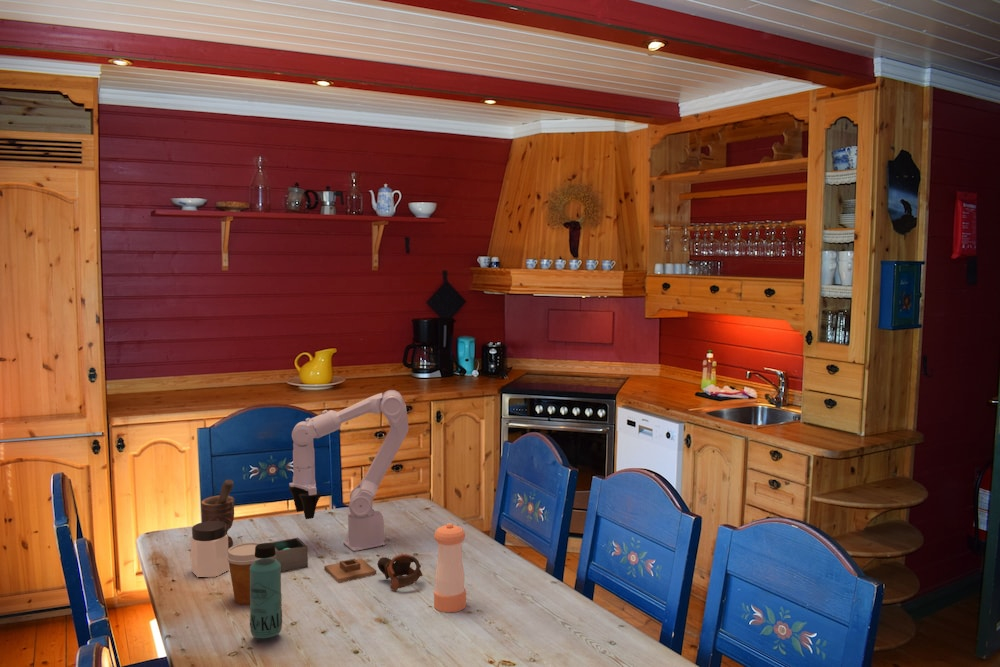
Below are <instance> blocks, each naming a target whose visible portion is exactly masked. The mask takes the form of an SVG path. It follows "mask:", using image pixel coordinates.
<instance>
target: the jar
mask: <svg viewBox="0 0 1000 667" xmlns="http://www.w3.org/2000/svg"><path fill="white" fill-rule="evenodd" d="M226 531H227V528H226V524H225V523H224V522H221V521H207V522H203V521H202V522H199V523H196V524H194V525H193V526H192V528H191V534H192V536H191V537H190V550H191V551H190V553H191V554H190V555H191V557H190V558H191V573H192V572H193V573H194V574H195V575H196V576H197V577H196V578H198V577H208V578H217V577H219V576H221V575H223V574H224V572H225V573H227V572H229V571H230V567H229V562H228V560H227V558H226V556H227V554H228V550H229V548H228V536H229V534H228V533H227V534H226ZM227 532H228V531H227ZM226 571H227V572H226ZM193 573H192V574H193ZM222 573H223V574H222ZM194 574H193V575H194ZM195 575H194V576H195ZM216 576H217V577H216Z"/></svg>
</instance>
